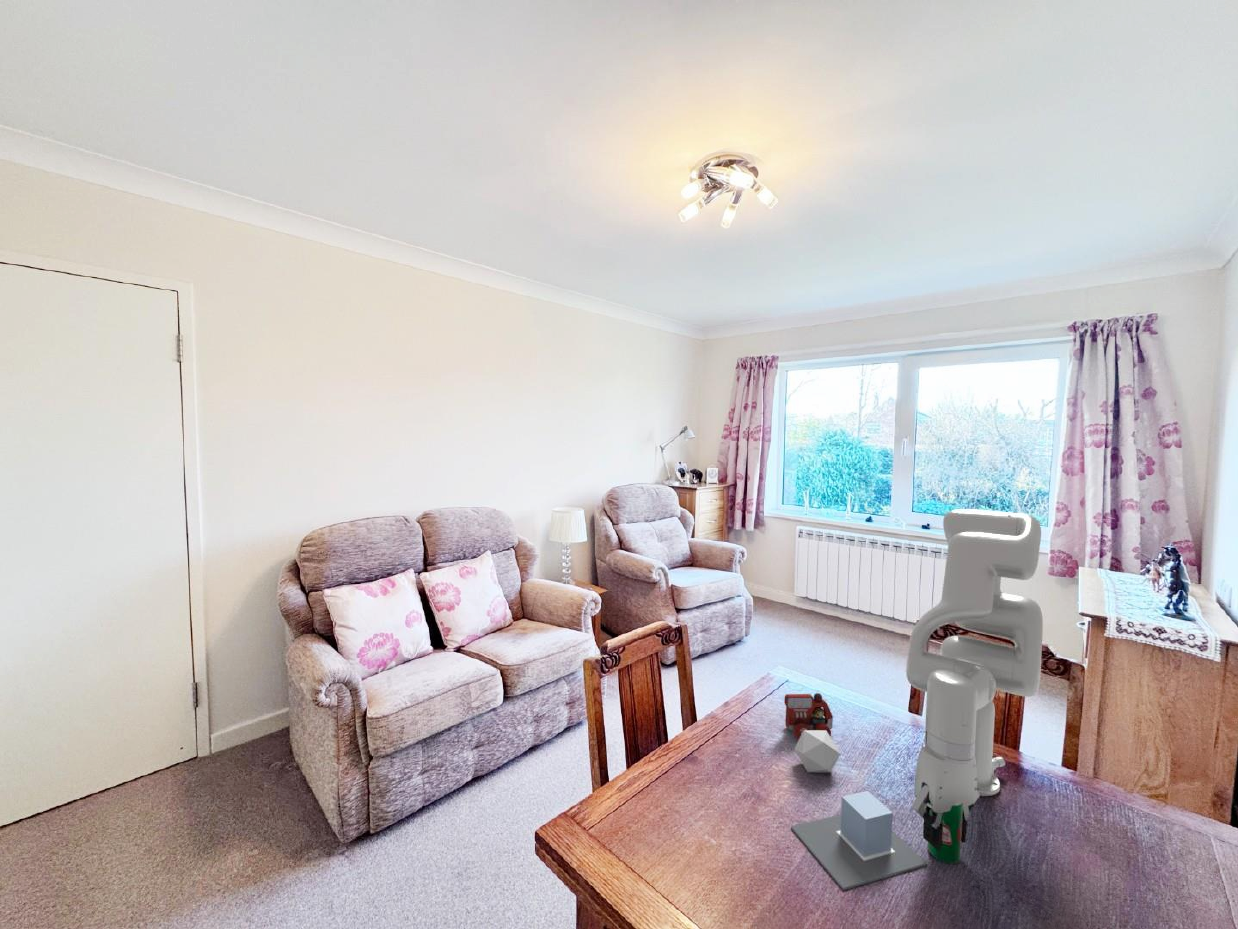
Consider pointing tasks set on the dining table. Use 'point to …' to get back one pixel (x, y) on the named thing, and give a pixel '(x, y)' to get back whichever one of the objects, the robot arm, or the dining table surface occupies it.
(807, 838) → the mat
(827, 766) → the die
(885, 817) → the blue block
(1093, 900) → the dining table surface
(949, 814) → the soda can
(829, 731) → the toy fire truck
